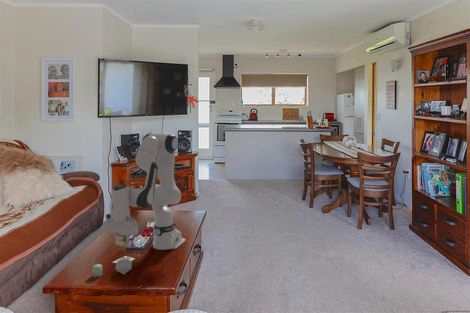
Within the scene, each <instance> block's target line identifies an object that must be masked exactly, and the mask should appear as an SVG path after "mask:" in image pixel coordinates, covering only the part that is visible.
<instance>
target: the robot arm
mask: <svg viewBox="0 0 470 313" xmlns="http://www.w3.org/2000/svg"><path fill="white" fill-rule="evenodd" d="M178 146H179V141H178V138H177V136H176V135H174V134H171V133H169V134H168V133H163V132H158V133H157V132H156V133H152V132H149V133H146V134H145V135H144V136H143V137H142V140H141V143H140V145H139V147H138V149H137V152H136V155H135V159H134V161H135V163H136V166H138V167H139V169H141V170H143V171H144V172H146V177H145V182H144V187H142V188H136V187H135V188H134V187H130V186H128V185H127V184H123V183H121V184H116V185H114V186H113V188H112V189H111V190H112V191H111V204H112V205H111V206H112V210H111V212H108V213H106V214H105V215H104V216H105V229H106V231H108V232H113V235H114V236H115V235H117V234H120V233H121V234H126V236H127V237H126V239H125V242H129V243H130V238H131V237H135V236H137V235H138V234H139V226H138V221H137V219H136V218H135V217H131V210H130V207H137V208H141V209H148V208H150V207H152V210H153V216H154V218H153V219H154V225H153V228H154V229H153V230H154V231H153V240H152V248H153V249H155V250H158V251H159V250H160V251H162V250H163V251H164V250H166V251H167V250H171V249H172V250H175V249H177V248H178V247H180V246H181V245H183V244H184V243H185V242H186V238H185V237H183V235H182V231H180V230H178V229H177V228H176V227H177V225H178V223H177V222H173V211H172V209H171V208H169V206H168V205H177V204H178V203H180V201H181V198H182V193H181V190H180V189H179V187H178V186H177V185H176V184H177V183H176V181H175V161H176V158H175V157H176V155H175V152H176V150H177V149H178ZM157 179H158V180H159V183H160V184H156V182H157Z"/></svg>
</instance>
